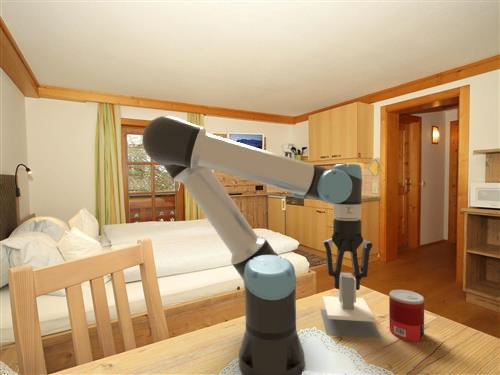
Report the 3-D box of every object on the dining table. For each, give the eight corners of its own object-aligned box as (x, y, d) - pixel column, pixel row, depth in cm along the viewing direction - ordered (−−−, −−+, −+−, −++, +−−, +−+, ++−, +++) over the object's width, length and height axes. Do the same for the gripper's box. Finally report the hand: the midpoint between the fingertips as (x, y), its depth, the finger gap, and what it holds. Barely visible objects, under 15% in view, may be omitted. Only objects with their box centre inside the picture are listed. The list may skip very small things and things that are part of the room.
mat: (326, 337, 72) (326, 334, 72) (320, 311, 86) (320, 309, 86) (382, 340, 71) (382, 337, 70) (366, 314, 84) (366, 311, 84)
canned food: (429, 346, 68) (429, 302, 68) (394, 343, 70) (394, 300, 69) (417, 329, 75) (417, 290, 75) (386, 326, 77) (385, 288, 77)
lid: (328, 318, 73) (328, 282, 73) (322, 299, 85) (322, 267, 85) (375, 321, 71) (375, 284, 71) (362, 301, 83) (363, 268, 83)
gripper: (319, 220, 75) (319, 304, 76) (381, 221, 72) (380, 308, 73) (316, 216, 82) (316, 293, 83) (372, 217, 80) (372, 296, 81)
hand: (346, 300), depth 78 cm, fingers closed on lid, 3 cm apart
